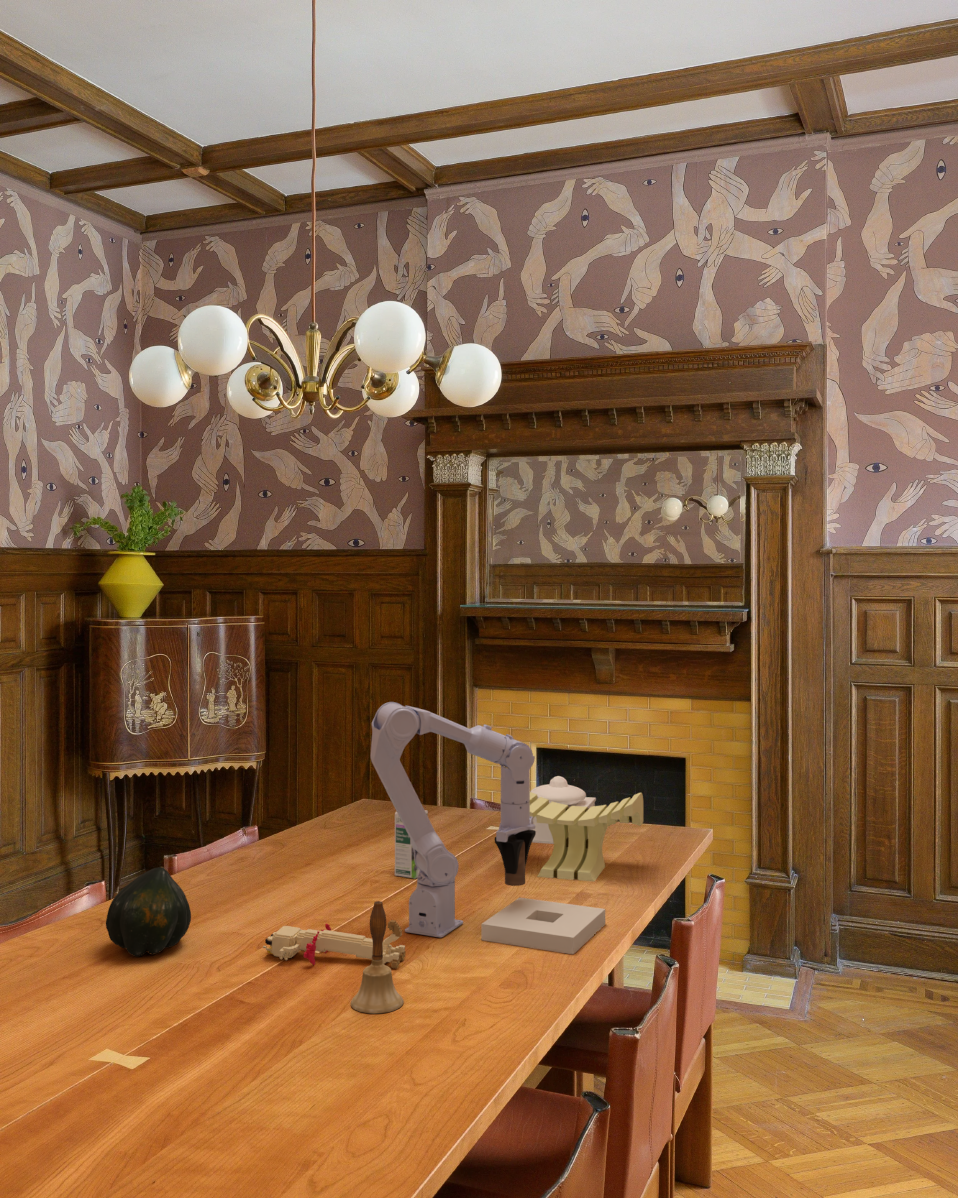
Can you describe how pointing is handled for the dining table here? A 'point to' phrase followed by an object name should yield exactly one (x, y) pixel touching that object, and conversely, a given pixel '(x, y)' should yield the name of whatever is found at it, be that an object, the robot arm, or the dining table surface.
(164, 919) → the squash
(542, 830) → the butter dish
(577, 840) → the slatted curved stool
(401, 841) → the syrup box
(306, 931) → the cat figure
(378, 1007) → the hand bell
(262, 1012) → the dining table surface
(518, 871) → the peg
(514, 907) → the socket board
